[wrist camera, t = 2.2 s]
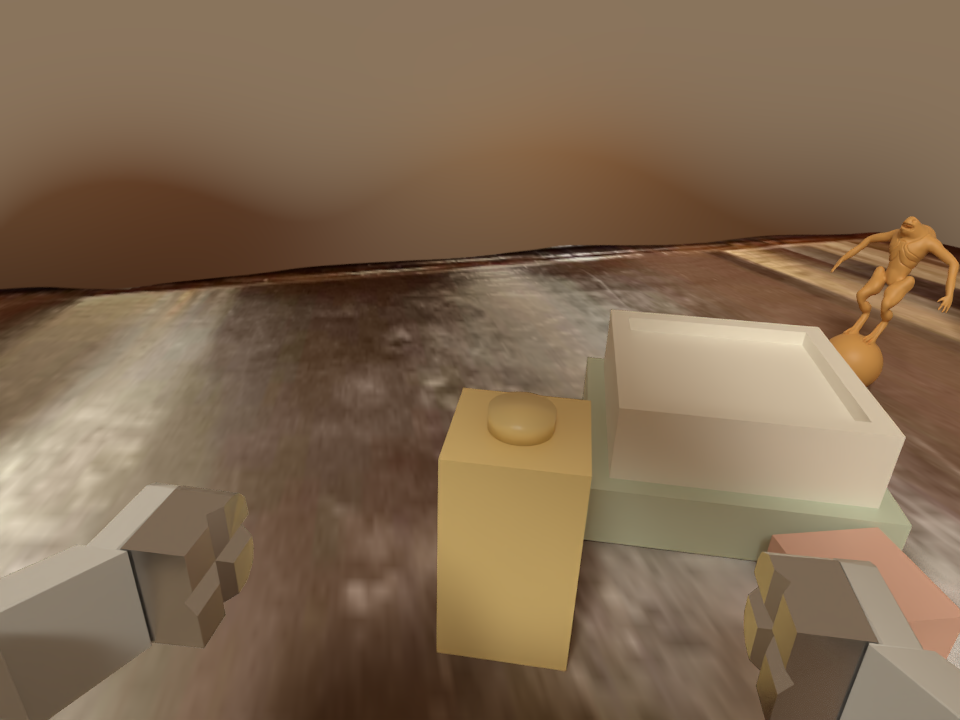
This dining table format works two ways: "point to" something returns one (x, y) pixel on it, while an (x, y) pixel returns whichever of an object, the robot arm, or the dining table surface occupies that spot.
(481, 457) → the tall brick
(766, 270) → the dining table surface
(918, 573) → the brick
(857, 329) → the figurine
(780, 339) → the cream tray on base
